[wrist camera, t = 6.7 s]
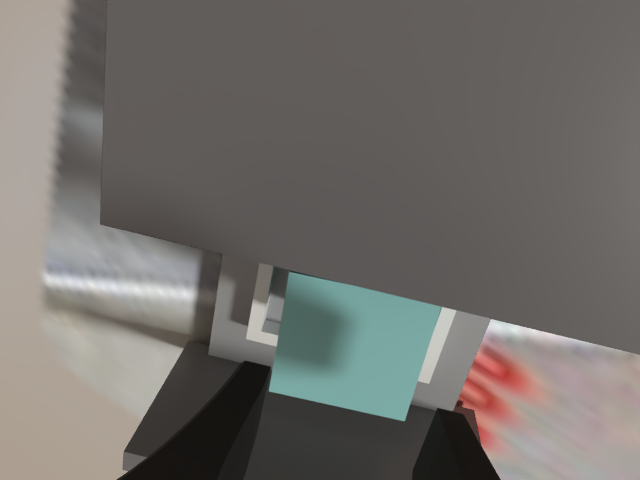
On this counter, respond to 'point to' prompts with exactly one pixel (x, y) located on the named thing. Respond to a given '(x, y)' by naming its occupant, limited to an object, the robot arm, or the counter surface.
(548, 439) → the counter surface
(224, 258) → the tray
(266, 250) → the dark grey cuboid box
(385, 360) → the block
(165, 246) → the counter surface
